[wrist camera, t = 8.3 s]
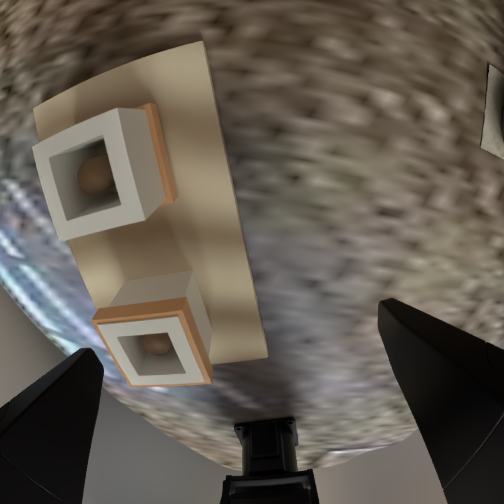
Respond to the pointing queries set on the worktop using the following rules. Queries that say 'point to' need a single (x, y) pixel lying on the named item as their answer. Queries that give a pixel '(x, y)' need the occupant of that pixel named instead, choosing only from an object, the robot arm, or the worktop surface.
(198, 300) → the seated sleeve
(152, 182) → the sleeve
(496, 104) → the condiment
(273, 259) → the worktop surface
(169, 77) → the pin board
